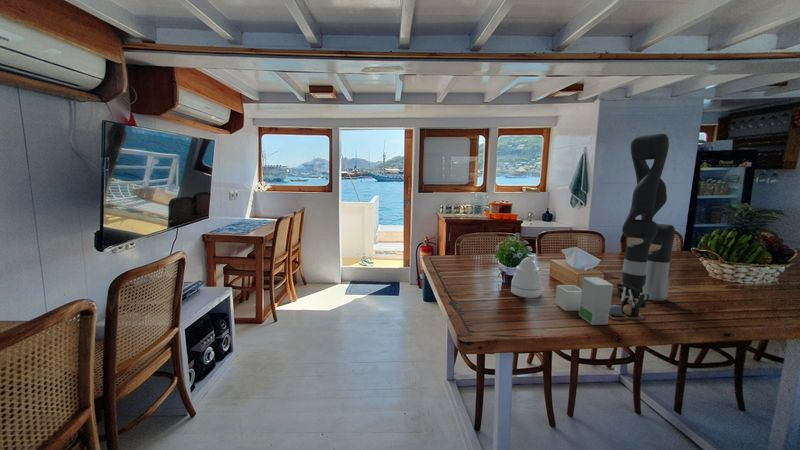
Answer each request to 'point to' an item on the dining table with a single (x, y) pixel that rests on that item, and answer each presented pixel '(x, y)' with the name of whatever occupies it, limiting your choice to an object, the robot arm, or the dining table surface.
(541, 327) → the dining table surface
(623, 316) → the rack
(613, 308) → the ball slate
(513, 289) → the honey pot
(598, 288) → the skincare box
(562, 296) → the open square cup
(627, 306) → the ball terracotta
